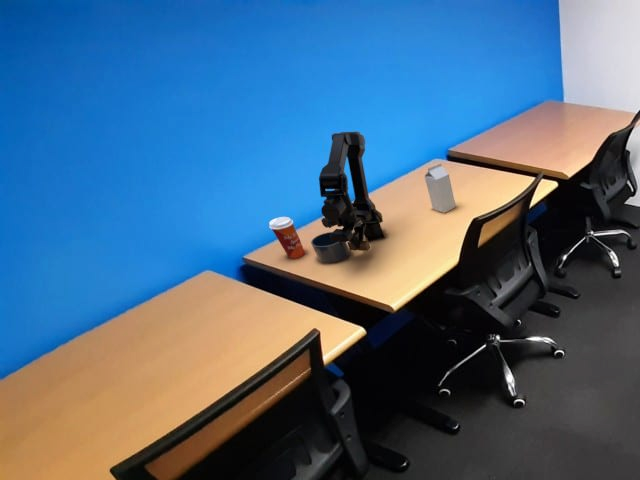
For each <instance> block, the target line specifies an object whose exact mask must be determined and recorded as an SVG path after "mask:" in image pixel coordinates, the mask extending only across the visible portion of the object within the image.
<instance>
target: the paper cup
mask: <svg viewBox="0 0 640 480" xmlns="http://www.w3.org/2000/svg"><path fill="white" fill-rule="evenodd" d="M268 224H269V229H271V230H272V232H273V233H274V235H275V237H276V238H277V240H278V243H280V245H281V247H282V249H283V250H284V252H285V254H286V255H287V257H288V258H290V259H298V258H301V257H303V256H305V254H306V252H305V249H304V246H303V244H302V242H301V239H300V237H299V235H298V232H297V229H296V227H295V225H294V220H293V219H292V218H290V217H288V216H279V217H275V218H273V219H272V220H270V221H269V223H268Z"/></svg>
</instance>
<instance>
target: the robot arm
mask: <svg viewBox="0 0 640 480" xmlns="http://www.w3.org/2000/svg"><path fill="white" fill-rule="evenodd" d="M331 141H332V142H331V146H330V151H329V157H328V161H327V164H325V165H324V166H323V167H322V169H321V171H320V172H319V176H318V183H319V193H320V194H319V195H320V197H321V198H325V199H324V200H323V205H322V207H321V210H320V211H321V214H322V216H323V217H322V219H320V220H321V224H322V226H323V227H324V228H328V229H331V228H332V227H334V226H337V227H339V228H336V229H334V230H333V231H331V232H332V233H331V235H330V238H331V240H332V241H335V242H346V243H348V242H349V241H350V242H351V243H352V244H353V245H354V246H355V248H357V249H359V240H360V241H364V238H365V239H366V241H368V242H371V241H375V240H379V239H384V238H385V236H386V235H385V234H384V231H383V228H382V226H381V224H382V223H383V222H384V220H383V215H382V213H381V212H380V211H378V209H376V205H375V203H374V202H373V201H372V199H371V198H370V197H369V190H368V186H367V185H368V184H367V179H366V173H365V168H364V162H363V156H364V154H365V152H366V139H365V136H364V135H363V134H361V133H360V132H359V131H340V132H335V133H332V134H331ZM346 161H347V162H346ZM346 163H348V167H349V174H350V179H351V183H352V184H351V185H352V188H353V195H354V200H353V202H352V199H351V197H350V194H349V192H348V191H349V180H348V175H347V174H346V172H345V167H346ZM341 227H343V228H341Z"/></svg>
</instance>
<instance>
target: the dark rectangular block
mask: <svg viewBox="0 0 640 480" xmlns="http://www.w3.org/2000/svg"><path fill="white" fill-rule="evenodd" d="M346 243H347V245H348V248H349V250H350V251H361V252H362V251H363V252H368V251H370V249H372V247H371V245H370V241H368V240H363V241H360V240H359V249H357V248H355V246H354V245H353V244H352V243H351V242H350V241H348V242H346Z"/></svg>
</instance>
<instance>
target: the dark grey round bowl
mask: <svg viewBox="0 0 640 480" xmlns="http://www.w3.org/2000/svg"><path fill="white" fill-rule="evenodd" d="M332 232H333V231H329V232H323V233H321V234H318V235H316V236H315V237H313V238H312V239H311V241H310V244H311V246H312V248H313V251H314V253H315V255H316V257H317V259H318V261H319V262H320V263H323V264H335V263H339V262H342V261H344V260H346V259H347V258H348V257H350V255H351V250H350V249H349V246H348V244H347V243H348V242H335V241H332V240H331V238H330V235H331V233H332Z"/></svg>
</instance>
